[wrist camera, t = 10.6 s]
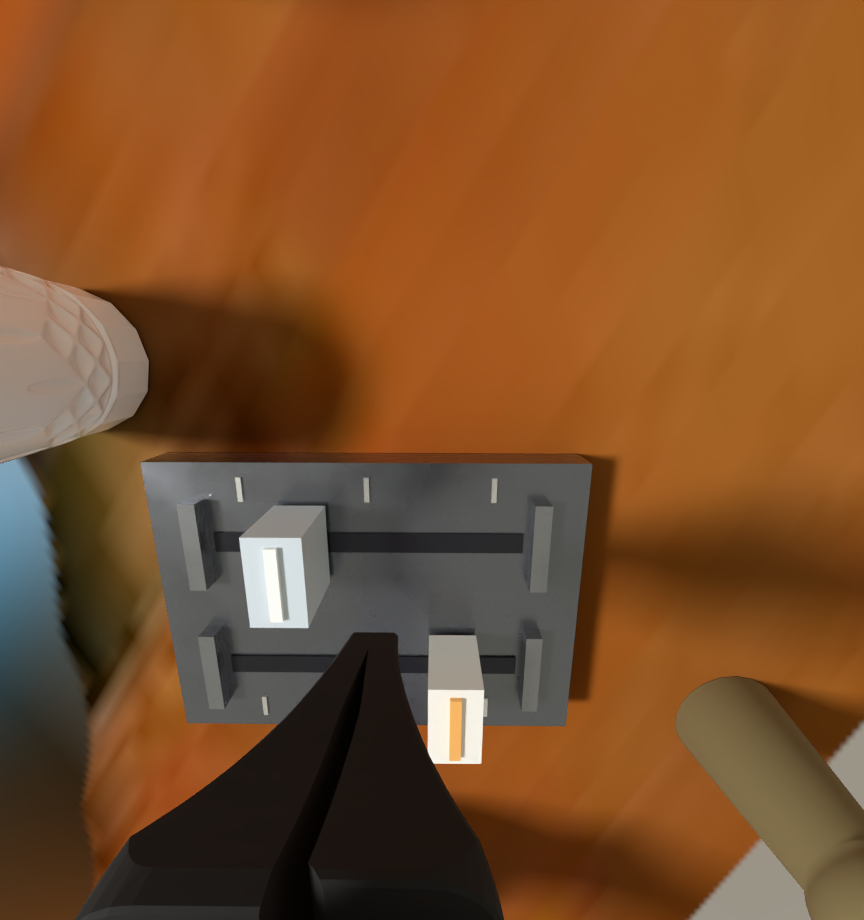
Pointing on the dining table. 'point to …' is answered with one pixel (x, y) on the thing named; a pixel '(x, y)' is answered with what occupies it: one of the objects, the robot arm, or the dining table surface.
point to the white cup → (63, 365)
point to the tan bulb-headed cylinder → (780, 790)
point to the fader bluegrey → (285, 566)
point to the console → (377, 572)
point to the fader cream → (455, 700)
